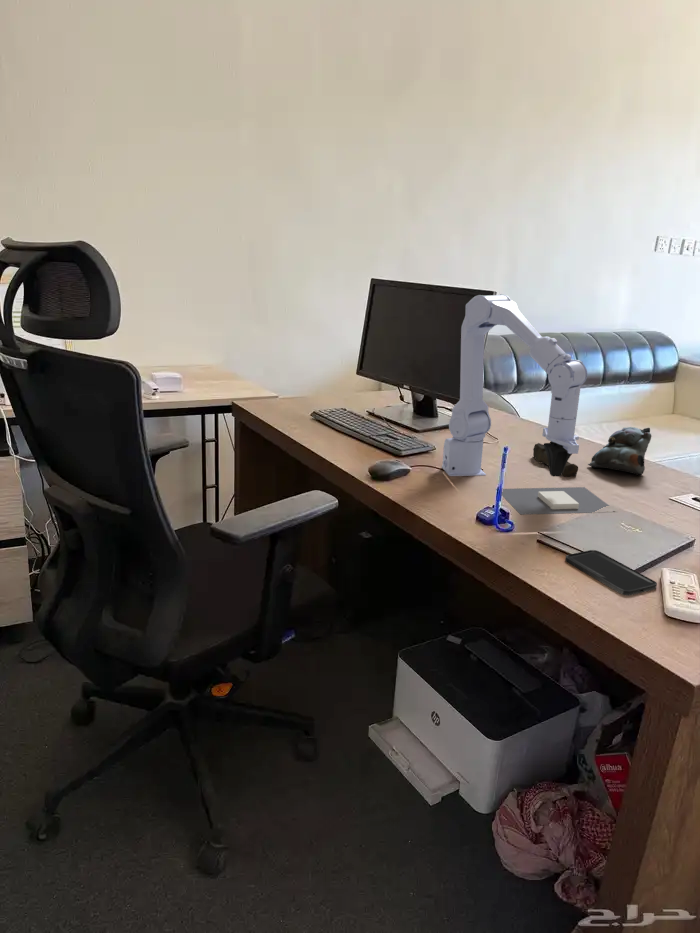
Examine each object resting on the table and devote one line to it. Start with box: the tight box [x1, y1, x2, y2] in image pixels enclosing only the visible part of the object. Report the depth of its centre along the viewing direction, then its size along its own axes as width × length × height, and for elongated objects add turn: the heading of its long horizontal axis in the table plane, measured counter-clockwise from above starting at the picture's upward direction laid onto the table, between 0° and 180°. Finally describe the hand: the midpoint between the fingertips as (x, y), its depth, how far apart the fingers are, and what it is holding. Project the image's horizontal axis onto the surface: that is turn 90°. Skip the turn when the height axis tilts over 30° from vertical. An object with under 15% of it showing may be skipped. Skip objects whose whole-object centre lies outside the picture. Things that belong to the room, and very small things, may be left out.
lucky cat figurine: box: [587, 426, 652, 477], centre depth 175 cm, size 15×12×14 cm
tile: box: [538, 491, 579, 509], centre depth 151 cm, size 6×1×8 cm
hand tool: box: [532, 442, 579, 478], centre depth 177 cm, size 19×4×5 cm, turn 11°
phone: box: [564, 549, 658, 596], centre depth 119 cm, size 8×1×15 cm
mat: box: [495, 486, 610, 516], centre depth 153 cm, size 22×16×1 cm
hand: (555, 475), depth 152 cm, fingers closed
